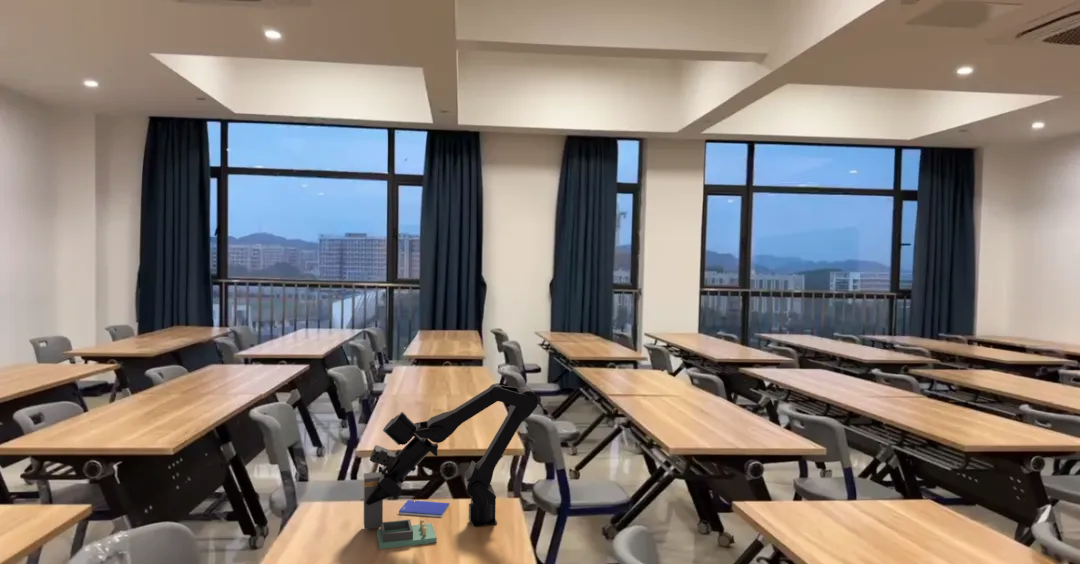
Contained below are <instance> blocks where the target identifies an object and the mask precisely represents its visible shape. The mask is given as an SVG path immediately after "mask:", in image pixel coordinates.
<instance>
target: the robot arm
mask: <svg viewBox="0 0 1080 564" xmlns="http://www.w3.org/2000/svg"><path fill="white" fill-rule="evenodd" d="M498 402H500V403H504V404H506V405H507V404H508V405H509V407H508V410H507V411H508V412H507V414H506V416H505V418H504V420H503V422H502V423H501V425H500V426H499V428H498V430H497V432H496V433H495V435H494V437H493V439H492V440H491V442H490V444H489V445H488V447H487V448H486V450H485V452H484V454H483V456H482V457H481V458H480V460H478V461H477V462H475V461H474V460H471V462H470V464H469V466H468V468H467V470H466V471H464V485H465V489H466V491H467V493H468V495H469V496H470V503H469V504H468V519H469V521H470V523H471V525H472V526H473V527H482V526H491V525H498V521H497V519H496V502H497V501H496V500H497V495H496V493H495V491H494V488H493V486H492V484H491V483H492V480H493V476H494V472H495V469H496V466H497V465H498V463H499V462H500V460H501V458H502V456H503V455H504V452H505V451H506V449H507V448H508V446H509V444H510V443H511V441H512V439H513V437H514V436H515V434H516V432H517V430H518V429H519V427H520V425H521V424H522V423H523V422H524V421H526V420H527V419H528V418H529V417H530V416H531V415H532V413H533V412H535V410H536V409H537V408H538V405H539V397H538V395H537V393H535V392H534V390H532V388H530V387H528V386H521V387H514V386H508V385H507V386H506V385H501V384H498V383H494V384H491V385H490V386H489V387H487V388H486V389H484V390H483V391H482V392H480V393H478V394H477V395H475V396H473V397H472V398H470V399H468V400H467V401H465V402H464V403H462V404H460V405H459V406H457V407H456V408H454V409H452V410H449V411H445V412H441V413H439V414H436V415H434V416H431V417H430V418H429V419H428V420H425V421H418V422H415V423H414V422H413V421H412V420H411V419H410V418H409V417H408V415H407V414H405V413H404V411H401V412H400V413H399V414H398V415H396V416H395V417H394V418H391V419H390V420H389V421H388V422H387V423H386V424H385V426H384V427H383V430H382V432H384V433H385V435H386V436H388V437H389V438H390V439H391V440H392V441H393V442H395V443H396V444H397V445H398V446H400V445H401V446H403V445H404V447H403V448H402V449H401V448H400V449H397V450H396V451H395V452H394V451H391V450H390V449H388V448H385V447H383V446H380V445H379V444H378V445H374V446H373V450H372V451H371V454H370V456H369V457H370V458H369V461H370V462H371V463H374V464H375V463H376V464H379V465H378V472H382V476H381V477H380V478H379V477H378V481H377V482H378V486H377V487H376V488H375V490H374V491H373V493H372V494H371V495H370V497H369V498H368V500H367V501H366V504H368V505H370V504H373V503H375V502H378V501H380V500H385V499H388V498H391V497H392V498H393V499H394V500H398V498H399V497H400V496H401V495H402V485H403V483H404V482H405V478H406V477H407V476H408V475H409V474H410V473H411V472H415V471H416V470H417V468H416V467H417V466H418V465H419V463H421V462H422V461H423V459H425V457H427V456H428V454H430V453H431V454H432V455H433V456H434V457H437V456H438V449H439V444H441V443H443V442H444V441H445V440H447V439H448V438H449V437H450V436H452V435H453V433H454V432H455V431H457V429H458V428H459V427H460V426H461V425H462V424H463V423H465V422H466V421H468V420H471V418H473V417H474V416H476V415H477V414H480V413H481V412H483V411H484V410H486V409H488V408H489V407H491V406H492V405H493V404H495V403H498ZM380 465H381V466H380Z"/></svg>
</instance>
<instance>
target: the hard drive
mask: <svg viewBox="0 0 1080 564" xmlns="http://www.w3.org/2000/svg"><path fill="white" fill-rule="evenodd" d="M414 501H415V502H414ZM449 508H450V502H440V501H427V500H426V501H424V500H411V499H408V500H406V501H405V503H404V504H403V505H402V506H401V508H399V510H398V515H405V516H418V517H419V516H421V517H431V518H432V517H433V518H442V517H444V515H445V513H446V512H447V511H448V509H449Z"/></svg>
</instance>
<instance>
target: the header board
mask: <svg viewBox="0 0 1080 564" xmlns="http://www.w3.org/2000/svg"><path fill="white" fill-rule="evenodd" d="M419 522H420V524H412V522H411V519H410V518H409V519H401V520H391V521H390V520H389V521H383V522H381V527H380V528H378V529H376V530H377V531H376V532H377V533H376V534H377V541H378V549H379V550H384V549H393V548H401V547H409V546H418V545H427V544H434V543H437V540H438V538H437V535H436V532H435V528H434V526H433V524H432V523H431V522H430V523H425V519H420V520H419Z"/></svg>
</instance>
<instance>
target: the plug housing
mask: <svg viewBox="0 0 1080 564" xmlns="http://www.w3.org/2000/svg"><path fill="white" fill-rule="evenodd" d="M381 476H382V472H379V471H376V472H365V473H363V529H364V530H367V529H374V528H375V529H376V528H381V522H384V519H383V518H384V517H383V510H384V509H383V507H384V506H383V503H384V501H383V500H384V499H383V500H380V501H378V502H375V503H373V504H370V505H368V504H366V501H367V500H368V498H369V497H370V495H371V494H372V493H373V491H374V490H375V488H376V487H377V486H378V482H377V481H378V477H379V478H380V477H381Z"/></svg>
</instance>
